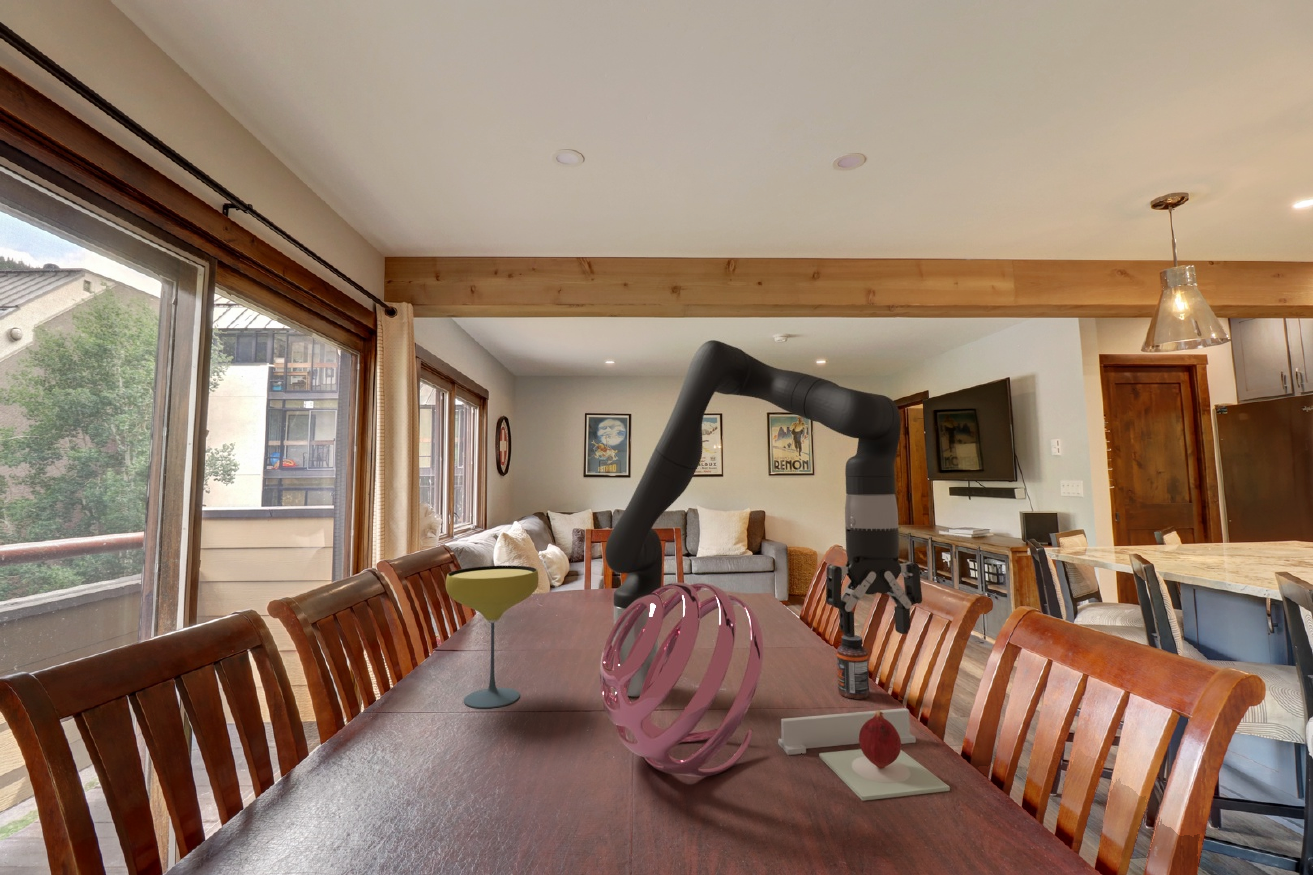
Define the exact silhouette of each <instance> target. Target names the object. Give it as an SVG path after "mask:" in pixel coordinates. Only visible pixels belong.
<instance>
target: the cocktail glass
mask: <svg viewBox="0 0 1313 875" xmlns="http://www.w3.org/2000/svg"><path fill="white" fill-rule="evenodd" d="M538 586H539V571H538V569H537V568H535V567H531V566H526V565H525V566H524V565H486V566H475V567H473V566H472V567H467V568H461V569H456V570H453V571H450V572H448V573H447V575H446V578H445V590H446V593H447V595H448V596H449V597H450V598H451V599H452V600H453V601H455V602H457V603H458V604H461V605H463V606H465V607H467V608H469V609H471V610H474V611H476V612H478V613H479V614H481V615H482V616H483V618H484V619H485V620H486V622H488V623H490V627H491V628H490V630H491V631H490V669H489V670H490V672H489V673H490V674H489V675H490V676H489V683H488V688H483V689H479V690H477V691H473V692H471V693H470V694H467V695H466V696H465V697H464V698H463V703H464V705H466V706H467V707H469V706H471V707H470V708H473V707H474V709H485V710H486V709H495V708H501V707H504V706H508V705H511V704H513V703H515V702H516V701H518V700H519V699H520V696H521V693H520V691H519V690H516V689H514V688H509V687H497V685H496V680H495V678H496V677H495V623H497V622H498V621H499V620H500V619H501V618H502V616H503V614H504V613H505V612H506V611H508V610H510V609H511V608H513V607H514V606H516V605H518V604H519V603H521V602H523V601H525V600H526V599H528V598H529V597H531V596H532V594H534V593H535V591H536V590H537V589H538Z"/></svg>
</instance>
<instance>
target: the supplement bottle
mask: <svg viewBox="0 0 1313 875" xmlns="http://www.w3.org/2000/svg"><path fill="white" fill-rule="evenodd" d="M840 638H841V645H839V646H838V647H837V649H836V662H837V663H836V666H837V668H836V669H837V691H838V693H839V694H840V695H841V696H843V697H844V698H847V699H851V698H852V699H853V698H854V700H860V699H861V700H863V699H866V698H868V697H869V696H870V675H869V652H868V650H867V649H866V648H865V647H864V646H863V644H864V643H863V637H862V636H861V635H856V634H855V636H854V637H851V638H849V637H847V636H845V635H844V634H843V635H841V637H840ZM862 698H863V699H862Z"/></svg>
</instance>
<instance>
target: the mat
mask: <svg viewBox="0 0 1313 875" xmlns="http://www.w3.org/2000/svg"><path fill="white" fill-rule="evenodd" d="M818 756H819V757H818V758H820V760H822V761H823V762H824V763H825V764H826V765H827V766H828V767H829V768H830V769H831V771H833V772H834V773H835V774H836V775H837V776H838V777H839V778H840V779H841V781H842V782H843V783H845V785H847V787H848V788H849V789H850V790H852V792H853V793H854V794H855V795H857V797H858V798H859V799H860V800H861V801H862V802H863V801H873V800H879V799H880V800H881V799H889V798H899V797H907V796H915V795H923V794H932V793H933V794H934V793H941V792H943V793H944V792H950V791H951V788H950V786H949V785H948V784H946V783H945V782H944V781H943V780H941V779H940V778H938V777H937V776H936V775H935V774H933V773H932V772H931V771H930V770H928V769H927V768H925V767H924V766H923V764H920V763H919V762H918V761H916V760H915V759H914V758H913V757H911V755H909V754H907V753H906V752H905V751H903V750H902V749H901V751H900V754H899V756H898V757H897V759H896V760H895V761H894V762H893V763H891V764H889V765H888V766H886V767H884V768H878V767H877V766H875V765H874V764H873V763H871V762H870V761H869V760H868V759H867V758H866V756H865V755H864V754H863V752H862V750H861V748H858V749H850V750H849V749H848V750H840V751H839V750H837V751H829V752H828V751H827V752H820V753H818Z"/></svg>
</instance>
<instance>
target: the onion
mask: <svg viewBox="0 0 1313 875" xmlns="http://www.w3.org/2000/svg"><path fill="white" fill-rule="evenodd" d="M879 710H880V709H879ZM879 710H878V709H877V710H875V711H876V713H875V716H874V717H873V718H871V719H869V720H868V721H867V722H866V723H865V724H864V725H863V726H862V728H861V730H860V733H859V747H860V749H861V750H862V752H863V754H864V755H865V756H866V758H867V759H868V760H869V761H870V762H871V763H873V764H874V765H875V766H877V767H878V768H884V767H886V766H888V765H889V764H891V763H893V762H894V761H895V760H896V759H897V757H898V756H899V754H900V751H901V750H902V744H901V740H900V736H899V734H898V732H897V730H896V729H895V727H894V726H893V725H892V724H891V723H890V722H889V721H888V720H886V719H885V718H884V717H883V713H882V712H881V711H879Z"/></svg>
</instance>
